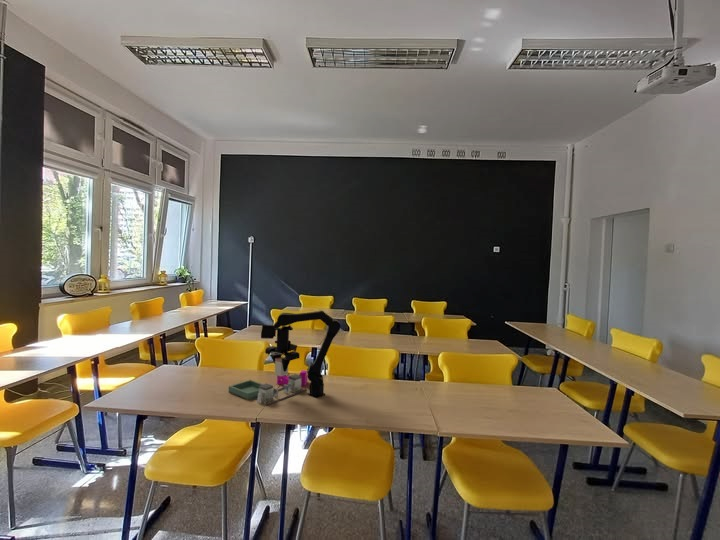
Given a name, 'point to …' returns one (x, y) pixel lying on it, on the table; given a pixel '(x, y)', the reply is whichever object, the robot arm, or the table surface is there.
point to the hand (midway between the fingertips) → (281, 370)
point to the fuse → (280, 367)
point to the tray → (245, 389)
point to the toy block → (285, 379)
